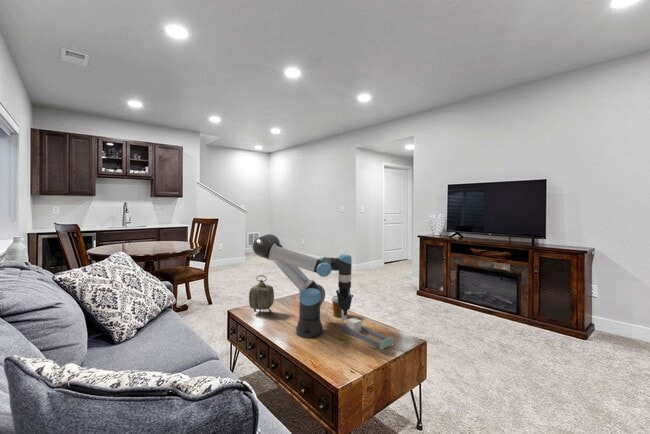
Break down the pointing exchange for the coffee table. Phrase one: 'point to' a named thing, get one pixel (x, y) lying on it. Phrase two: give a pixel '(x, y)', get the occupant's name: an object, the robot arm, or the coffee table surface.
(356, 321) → the block
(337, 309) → the disposable coffee cup
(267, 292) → the tabletop clock
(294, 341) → the coffee table surface
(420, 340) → the coffee table surface
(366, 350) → the coffee table surface
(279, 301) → the coffee table surface
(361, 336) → the chute
